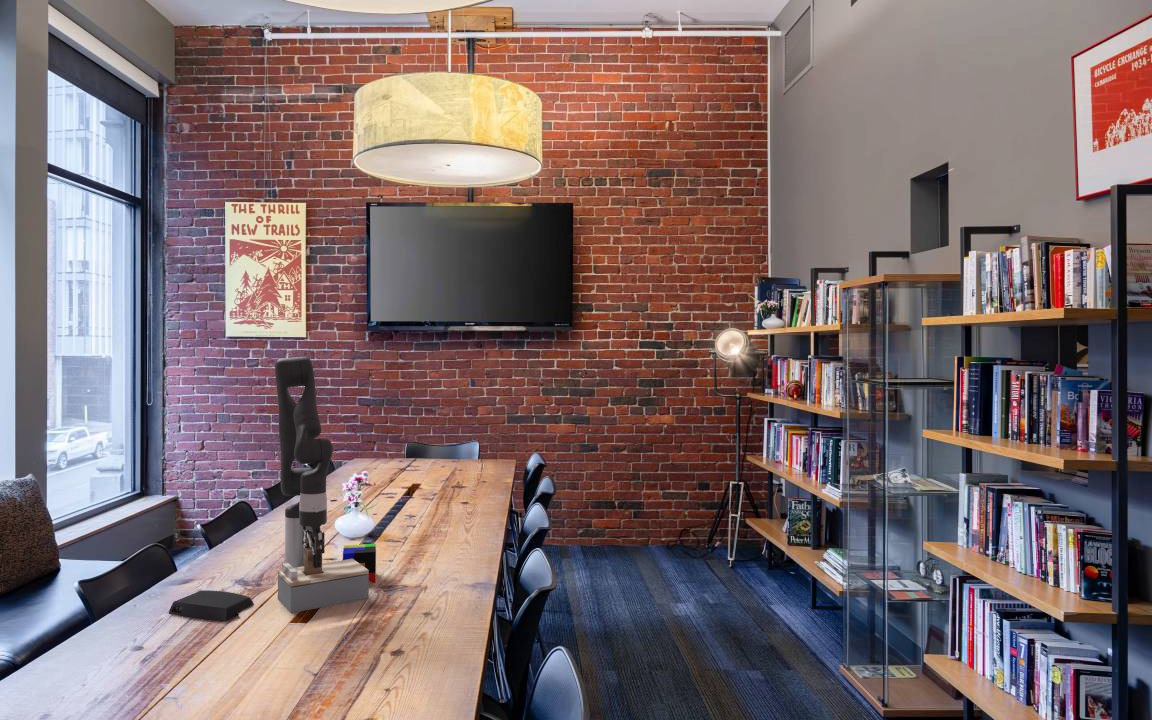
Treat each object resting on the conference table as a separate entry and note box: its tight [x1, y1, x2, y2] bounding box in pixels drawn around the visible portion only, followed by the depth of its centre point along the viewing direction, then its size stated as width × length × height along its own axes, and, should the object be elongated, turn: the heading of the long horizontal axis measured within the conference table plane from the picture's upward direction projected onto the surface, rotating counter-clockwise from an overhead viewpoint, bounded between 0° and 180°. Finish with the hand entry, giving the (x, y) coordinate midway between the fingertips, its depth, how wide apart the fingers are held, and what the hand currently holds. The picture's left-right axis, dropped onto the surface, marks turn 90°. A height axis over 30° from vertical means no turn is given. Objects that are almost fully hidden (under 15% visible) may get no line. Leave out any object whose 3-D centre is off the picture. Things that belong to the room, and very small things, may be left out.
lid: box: [277, 559, 369, 587], centre depth 217 cm, size 14×22×3 cm, turn 125°
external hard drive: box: [168, 589, 255, 623], centre depth 210 cm, size 13×19×4 cm
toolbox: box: [277, 574, 370, 614], centre depth 218 cm, size 14×22×8 cm, turn 125°
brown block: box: [304, 547, 323, 576], centre depth 216 cm, size 4×4×15 cm
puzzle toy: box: [342, 543, 377, 584], centre depth 239 cm, size 10×10×10 cm
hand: (312, 564), depth 216 cm, fingers open, 7 cm apart
